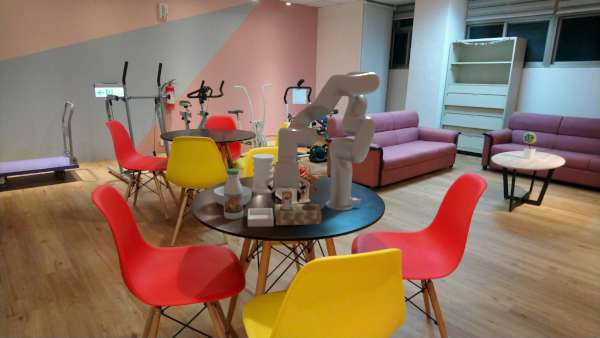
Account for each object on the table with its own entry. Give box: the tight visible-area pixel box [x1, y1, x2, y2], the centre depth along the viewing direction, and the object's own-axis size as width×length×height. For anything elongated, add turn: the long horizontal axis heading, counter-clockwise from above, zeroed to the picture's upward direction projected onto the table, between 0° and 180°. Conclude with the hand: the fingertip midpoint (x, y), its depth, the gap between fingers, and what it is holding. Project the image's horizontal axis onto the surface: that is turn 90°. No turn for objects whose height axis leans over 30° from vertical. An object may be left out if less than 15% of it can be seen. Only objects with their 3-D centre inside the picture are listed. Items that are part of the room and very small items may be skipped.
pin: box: [281, 189, 293, 211], centre depth 150 cm, size 4×4×12 cm
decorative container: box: [251, 153, 275, 195], centre depth 187 cm, size 12×12×18 cm
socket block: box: [274, 203, 323, 226], centre depth 151 cm, size 18×10×6 cm, turn 97°
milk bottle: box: [223, 168, 244, 220], centre depth 151 cm, size 8×8×20 cm
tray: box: [247, 207, 275, 228], centre depth 150 cm, size 10×12×3 cm
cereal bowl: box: [213, 185, 253, 207], centre depth 166 cm, size 17×17×7 cm
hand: (285, 201), depth 149 cm, fingers open, 9 cm apart
